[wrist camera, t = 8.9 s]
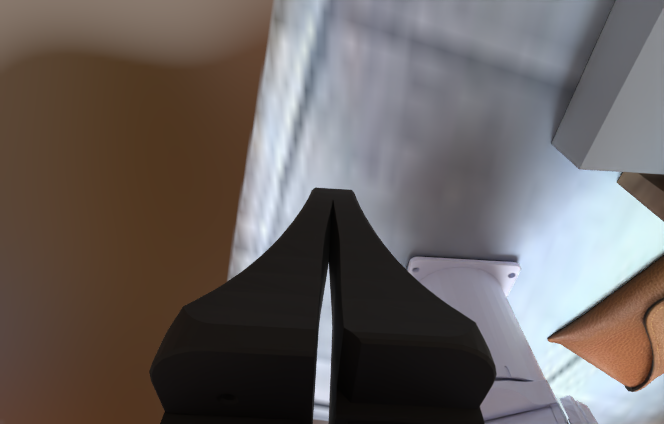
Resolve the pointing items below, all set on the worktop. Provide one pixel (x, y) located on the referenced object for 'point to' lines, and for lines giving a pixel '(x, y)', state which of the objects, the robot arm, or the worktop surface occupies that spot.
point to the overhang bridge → (645, 190)
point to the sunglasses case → (624, 331)
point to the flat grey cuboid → (620, 95)
